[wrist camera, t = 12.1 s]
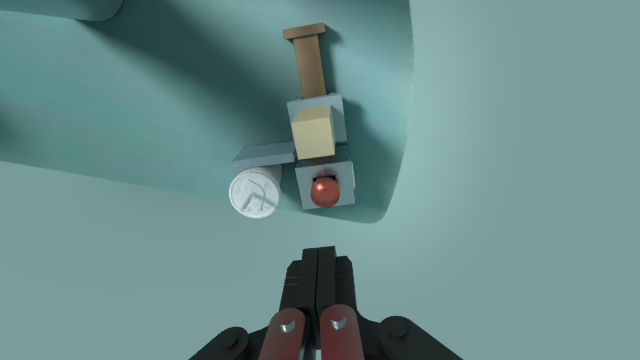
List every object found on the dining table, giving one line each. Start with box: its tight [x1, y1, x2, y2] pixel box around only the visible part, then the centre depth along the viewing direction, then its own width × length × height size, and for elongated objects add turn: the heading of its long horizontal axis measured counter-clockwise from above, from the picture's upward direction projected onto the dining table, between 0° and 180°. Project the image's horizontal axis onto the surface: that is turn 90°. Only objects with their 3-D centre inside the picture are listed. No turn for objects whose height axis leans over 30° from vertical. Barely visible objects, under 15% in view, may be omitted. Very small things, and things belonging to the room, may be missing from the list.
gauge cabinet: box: [295, 145, 356, 210], centre depth 42 cm, size 7×6×7 cm
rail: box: [283, 23, 327, 99], centre depth 40 cm, size 5×16×2 cm, turn 9°
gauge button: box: [310, 175, 340, 208], centre depth 40 cm, size 4×4×7 cm
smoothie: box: [229, 164, 282, 218], centre depth 39 cm, size 6×6×14 cm
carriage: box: [232, 92, 347, 170], centre depth 37 cm, size 15×7×11 cm, turn 99°
